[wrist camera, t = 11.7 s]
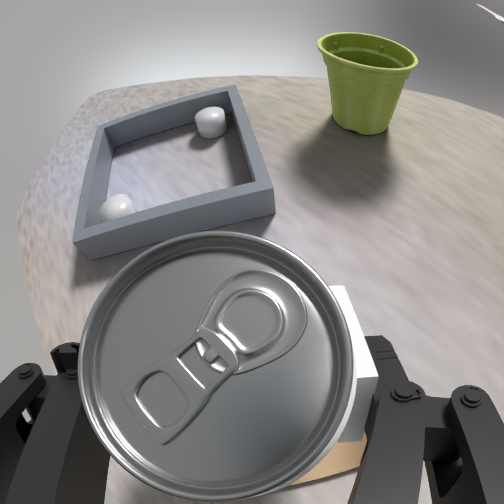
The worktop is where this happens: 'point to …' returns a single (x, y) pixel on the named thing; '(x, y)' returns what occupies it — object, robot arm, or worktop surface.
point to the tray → (179, 212)
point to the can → (217, 367)
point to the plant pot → (365, 78)
